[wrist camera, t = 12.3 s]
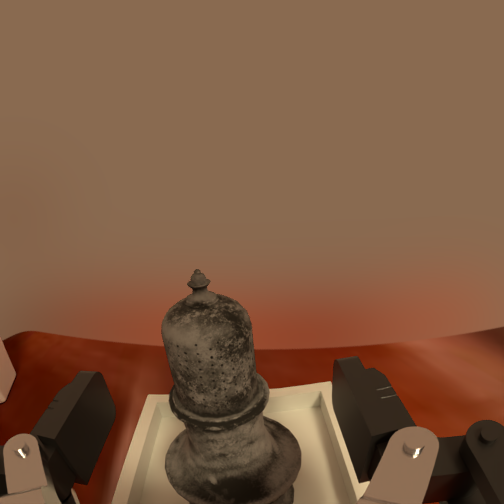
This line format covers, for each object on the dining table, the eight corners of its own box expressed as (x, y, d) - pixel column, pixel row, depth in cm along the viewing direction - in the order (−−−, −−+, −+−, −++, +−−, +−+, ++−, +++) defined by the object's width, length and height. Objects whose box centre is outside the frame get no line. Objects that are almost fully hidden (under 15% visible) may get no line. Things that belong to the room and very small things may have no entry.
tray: (329, 402, 19) (330, 381, 19) (389, 585, 6) (402, 576, 5) (155, 415, 19) (148, 394, 19) (109, 592, 6) (89, 582, 5)
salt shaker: (242, 439, 16) (213, 238, 13) (324, 487, 12) (339, 257, 9) (161, 491, 12) (76, 278, 9) (239, 561, 8) (159, 345, 5)
